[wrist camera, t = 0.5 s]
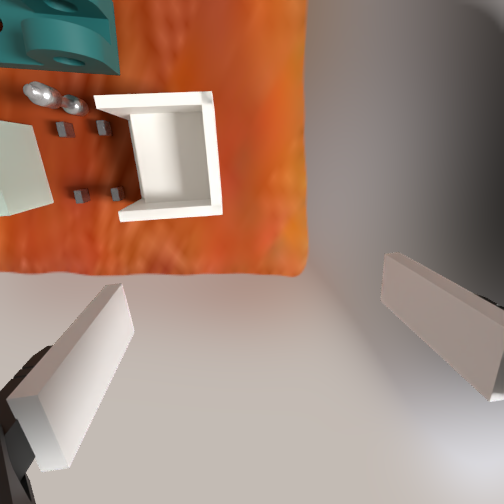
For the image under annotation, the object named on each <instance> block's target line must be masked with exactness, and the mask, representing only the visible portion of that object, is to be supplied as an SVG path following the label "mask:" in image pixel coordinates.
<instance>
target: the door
mask: <svg viewBox="0 0 504 504" xmlns="http://www.w3.org/2000/svg"><path fill="white" fill-rule="evenodd" d="M51 203H54V201H53V198H52V194H51V191H50V187H49V184H48V180H47V177H46V173H45V170H44V166H43V163H42V159H41V156H40V152H39V149H38V145H37V141H36V138H35V134H34V131H33V127H32V125H25V124H19V123H12V122H6V121H0V216H10V215H14V214H17V213H20V212H24V211H27V210H31V209H34V208H38V207H41V206H44V205H48V204H51Z"/></svg>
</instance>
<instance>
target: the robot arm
mask: <svg viewBox="0 0 504 504" xmlns="http://www.w3.org/2000/svg"><path fill="white" fill-rule="evenodd" d="M381 302H382V303H383V304H384V305H385V306H386V307H387V308H389V309H390V310H391V311H392V312H393V313H394V314H395V315H396V316H397V317H398V318H400V320H402V321H403V322H404V323H405V324H406V325H407V326H408V327H409V328H410V329H411V330H412V331H414V332H415V333H416V334H417V335H418V336H419V337H420V338H421V339H422V340H423V341H424V342H425V343H427V344H428V345H429V346H430V347H431V348H432V349H433V350H434V351H435V352H436V353H437V354H438V355H439V356H441V357H442V358H443V359H444V360H445V361H446V362H447V363H448V364H449V365H450V366H451V367H452V368H453V369H455V370H456V371H457V372H458V373H459V374H460V375H461V376H462V377H463V378H464V379H465V380H466V381H468V382H469V383H470V384H471V385H472V386H473V387H474V388H475V389H476V390H477V391H478V392H479V393H480V394H482V395H483V396H484V397H485V398H486V399H487V400H488V401H489V402H492V401H498V400H504V307H502V306H499V305H498V304H497V303H495V302H493V301H491V300H490V299H488V298H486V297H483V296H480V295H477V294H474V293H472V292H470V291H468V290H466V289H464V288H463V287H461V286H459V285H457V284H455V283H454V282H452V281H450V280H448V279H446V278H445V277H443V276H441V275H439V274H437V273H435V272H434V271H432V270H430V269H428V268H426V267H425V266H423V265H421V264H419V263H418V262H416V261H414V260H412V259H410V258H409V257H407V256H405V255H403V254H401V253H399V252H396V253H387V254H385V257H384V267H383V280H382V290H381ZM134 332H135V331H134V327H133V323H132V319H131V316H130V312H129V308H128V304H127V300H126V296H125V292H124V289H123V285H122V283H120V284H112V285H105V287H104V288H103V289H102V290H101V291H100V292H99V293H98V295H97V296H96V297H95V298H94V300H92V301H91V303H90V304H89V305H88V306H87V307H86V308H85V310H84V311H83V312H82V313H81V314H80V315H79V316H78V317H77V319H76V320H75V321H74V322H73V323H72V324H71V325H70V327H69V328H68V329H67V330H66V331H65V332H64V334H63V335H62V336H61V337H60V338H59V339H58V340H57V342H56V343H55V344H54V345H52V346H47V347H45V348H44V349H42V350H41V351H39V352H38V353H37V354H35V355H34V356H33V357H32V358H31V359H30V360H29V361H28V362H27V363H26V364H25V365H24V366H23V367H22V369H21V370H19V372H18V373H17V374H16V375H15V376H14V378H13V379H11V380H10V381H9V382H8V383H7V384H6V386H5V387H4V388H3V389H2V390H1V391H0V504H36V503H35V499H34V495H33V491H32V488H31V484H30V480H29V478H28V476H27V474H26V471H27V469H28V468H29V466H30V465H31V463H32V462H33V460H34V458H35V460H36V462H37V464H38V466H39V468H40V470H41V472H45V471H52V470H58V469H64V468H69V467H70V465H71V463H72V461H73V459H74V457H75V454H76V452H77V450H78V448H79V446H80V444H81V442H82V440H83V438H84V436H85V434H86V432H87V430H88V428H89V426H90V423H91V421H92V419H93V417H94V415H95V413H96V411H97V409H98V407H99V405H100V403H101V401H102V398H103V397H104V394H105V392H106V390H107V388H108V386H109V384H110V382H111V380H112V378H113V376H114V374H115V372H116V369H117V367H118V365H119V363H120V361H121V359H122V357H123V355H124V353H125V351H126V349H127V346H128V345H129V343H130V341H131V338H132V336H133V334H134Z"/></svg>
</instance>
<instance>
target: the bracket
mask: <svg viewBox="0 0 504 504" xmlns="http://www.w3.org/2000/svg"><path fill="white" fill-rule="evenodd" d="M0 22H2V23H3V29H2V31H1V32H0V67H3V68H18V69H33V70H47V71H62V72H77V73H91V74H106V75H120V68H119V58H118V48H117V38H116V28H115V17H114V7H113V2H112V0H0Z"/></svg>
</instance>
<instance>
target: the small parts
mask: <svg viewBox="0 0 504 504" xmlns="http://www.w3.org/2000/svg"><path fill="white" fill-rule="evenodd" d="M23 92H24V94H25V95H26V96H28V98H29V99H30V100H31V101H32V102H33V103H35V104H37V105H40V106H44V107H48V108H52V109H57V108H59V107H62V108H63V109H64V110H65V111H66V112H67V113H70V114H74V115H78V116H85V115H86V114H87V113H88V112H89V108H88V105H87V103H86V102H85V101H84V100H82V99H80V98H77V97H75V96H72V95H65V96H61V94H60V93H59V92H58V91H57V90H56V89H54V88H52V87H49V86H47V85H44V84H42V83H39V82H31V83H29V84H26V85H24V87H23ZM96 123H97V128H98V132H99V135H102V136H113V135H112V130H111V125H110V122H108V121H104V120H97V121H96ZM56 126H57V130H58V133H59V137H66V138H75V134H74V129H73V125H72V124H71V123H66V122H56ZM73 192H74V195H75V199H76V203H85V202H88V201H90V196H89V192H88V189H79V190H75V191H73ZM111 193H112V198H113V201H120V200H122V199H125V195H124V190H123V186H122V187H114V188H111Z"/></svg>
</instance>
